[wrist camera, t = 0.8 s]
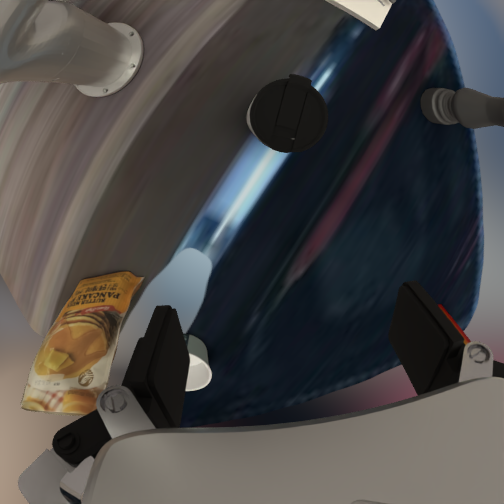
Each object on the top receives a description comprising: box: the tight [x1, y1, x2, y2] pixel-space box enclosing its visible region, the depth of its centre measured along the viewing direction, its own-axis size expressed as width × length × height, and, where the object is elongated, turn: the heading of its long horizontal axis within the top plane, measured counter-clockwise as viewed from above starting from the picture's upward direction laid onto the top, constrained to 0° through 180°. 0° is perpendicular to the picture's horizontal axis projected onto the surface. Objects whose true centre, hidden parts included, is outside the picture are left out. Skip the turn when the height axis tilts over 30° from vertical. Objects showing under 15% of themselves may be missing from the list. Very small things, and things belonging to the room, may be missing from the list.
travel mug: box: [246, 74, 328, 153], centre depth 29 cm, size 6×7×20 cm
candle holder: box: [421, 88, 504, 129], centre depth 25 cm, size 6×6×25 cm
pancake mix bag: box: [21, 271, 144, 416], centre depth 37 cm, size 7×19×28 cm, turn 101°
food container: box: [183, 334, 212, 391], centre depth 53 cm, size 12×12×6 cm
